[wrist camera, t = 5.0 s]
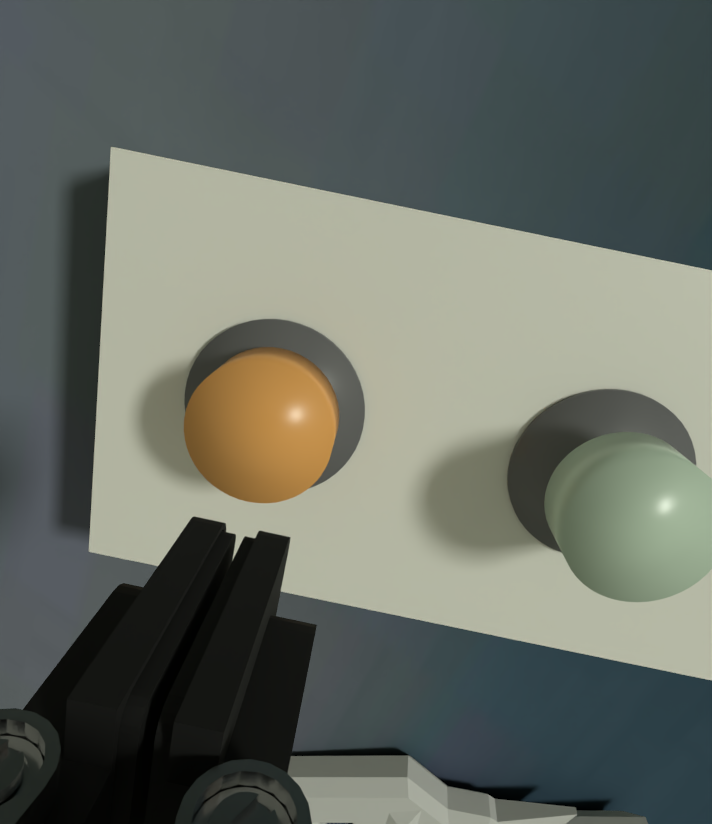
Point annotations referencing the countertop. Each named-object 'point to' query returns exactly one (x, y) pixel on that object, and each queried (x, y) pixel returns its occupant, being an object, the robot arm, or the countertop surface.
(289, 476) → the orange button
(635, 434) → the sage button
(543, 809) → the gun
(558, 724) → the countertop surface
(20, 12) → the countertop surface
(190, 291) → the button panel
